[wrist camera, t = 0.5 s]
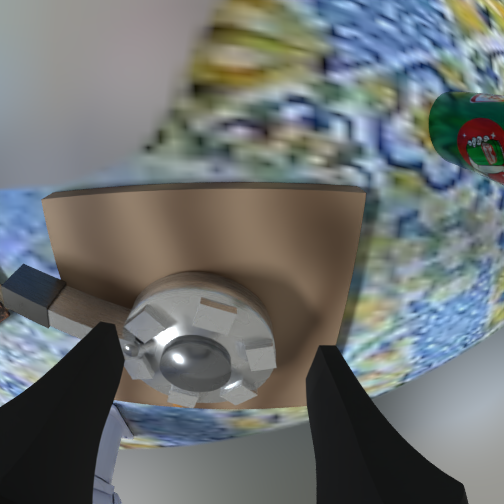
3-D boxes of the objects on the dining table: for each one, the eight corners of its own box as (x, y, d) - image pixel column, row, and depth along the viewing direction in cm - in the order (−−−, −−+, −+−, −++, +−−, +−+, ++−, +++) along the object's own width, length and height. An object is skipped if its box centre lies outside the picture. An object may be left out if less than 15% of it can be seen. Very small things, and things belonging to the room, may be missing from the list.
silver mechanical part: (296, 298, 19) (306, 335, 16) (243, 388, 23) (244, 423, 20) (26, 209, 15) (-5, 231, 12) (31, 318, 19) (12, 345, 16)
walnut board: (115, 388, 26) (111, 401, 24) (53, 192, 17) (39, 200, 15) (314, 392, 26) (317, 406, 25) (357, 186, 17) (367, 194, 16)
